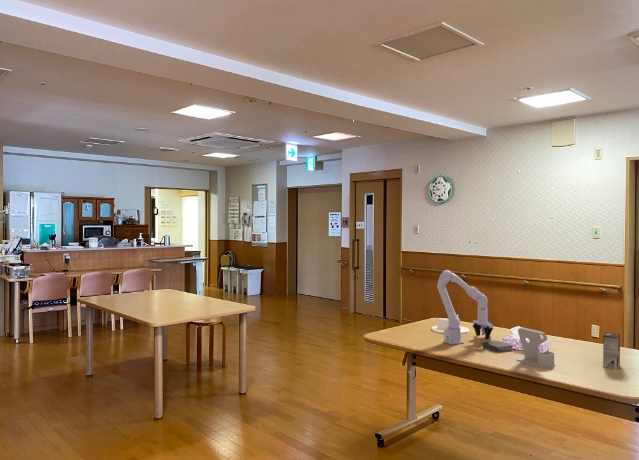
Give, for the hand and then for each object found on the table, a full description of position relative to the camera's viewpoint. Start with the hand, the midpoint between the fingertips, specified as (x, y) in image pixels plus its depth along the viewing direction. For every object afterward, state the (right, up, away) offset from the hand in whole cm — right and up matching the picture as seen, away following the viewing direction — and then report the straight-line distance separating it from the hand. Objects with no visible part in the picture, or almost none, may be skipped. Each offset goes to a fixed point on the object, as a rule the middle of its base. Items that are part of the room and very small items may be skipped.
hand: (482, 337), depth 299 cm
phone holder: (+15, -5, -39) cm, 42 cm away
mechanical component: (+5, -4, +15) cm, 16 cm away
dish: (-9, -4, +39) cm, 40 cm away
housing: (0, -4, 0) cm, 4 cm away
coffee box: (+50, -5, -46) cm, 68 cm away
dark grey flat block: (+5, -4, -11) cm, 13 cm away
